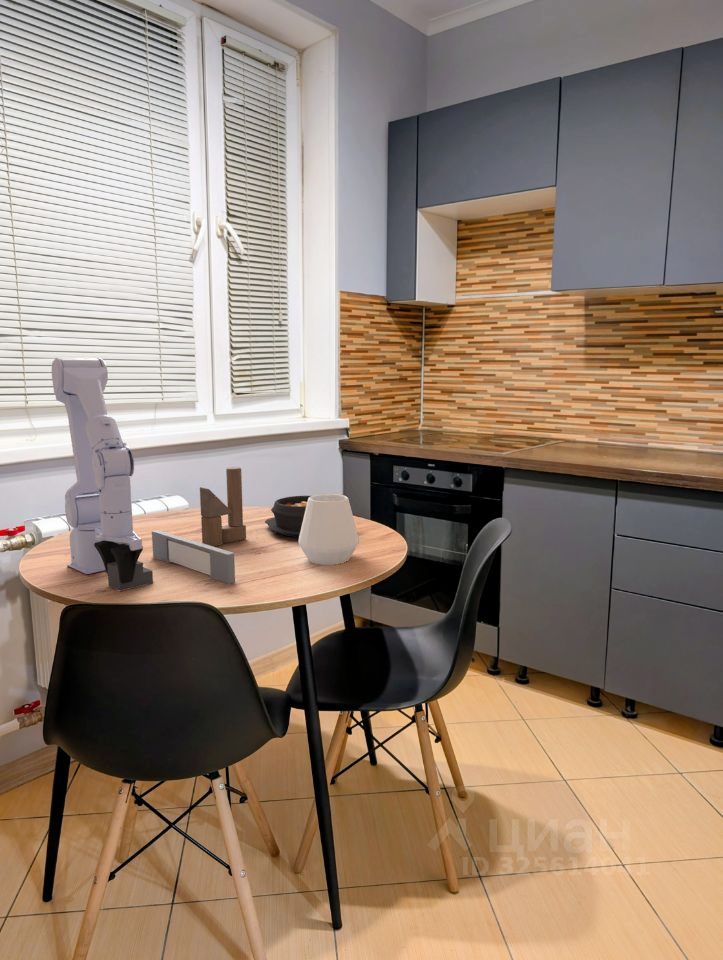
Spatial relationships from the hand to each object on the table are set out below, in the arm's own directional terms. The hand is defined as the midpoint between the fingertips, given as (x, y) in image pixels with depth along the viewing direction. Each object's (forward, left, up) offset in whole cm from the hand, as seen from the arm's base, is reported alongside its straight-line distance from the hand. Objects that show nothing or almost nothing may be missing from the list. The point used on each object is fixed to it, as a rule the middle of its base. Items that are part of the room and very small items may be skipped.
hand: (120, 579), depth 130 cm
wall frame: (0, +16, -2) cm, 16 cm away
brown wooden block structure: (-13, +34, -2) cm, 36 cm away
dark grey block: (0, +2, -2) cm, 3 cm away
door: (0, +16, -1) cm, 16 cm away
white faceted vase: (+16, +41, -2) cm, 44 cm away
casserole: (-6, +54, -2) cm, 54 cm away
